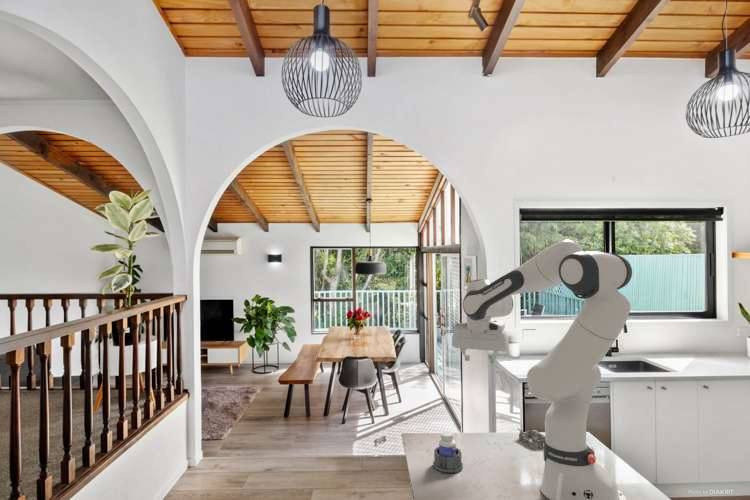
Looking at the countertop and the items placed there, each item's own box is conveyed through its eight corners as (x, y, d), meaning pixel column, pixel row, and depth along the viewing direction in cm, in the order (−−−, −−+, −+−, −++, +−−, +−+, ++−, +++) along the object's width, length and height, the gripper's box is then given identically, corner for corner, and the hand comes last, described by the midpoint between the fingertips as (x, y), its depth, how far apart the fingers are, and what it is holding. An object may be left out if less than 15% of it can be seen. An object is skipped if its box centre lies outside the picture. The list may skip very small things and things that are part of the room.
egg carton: (516, 438, 167) (516, 427, 167) (534, 436, 168) (534, 426, 168) (531, 450, 157) (530, 438, 157) (550, 448, 158) (549, 436, 158)
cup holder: (466, 463, 146) (466, 448, 146) (457, 476, 138) (457, 460, 138) (439, 457, 151) (438, 443, 151) (428, 469, 142) (428, 454, 143)
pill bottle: (455, 468, 141) (455, 437, 141) (439, 466, 142) (438, 436, 142) (456, 460, 146) (455, 431, 147) (439, 459, 148) (439, 430, 148)
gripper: (449, 323, 162) (449, 360, 162) (505, 326, 153) (506, 366, 152) (454, 321, 168) (455, 357, 167) (509, 324, 158) (509, 362, 158)
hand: (479, 361), depth 160 cm, fingers open, 8 cm apart
